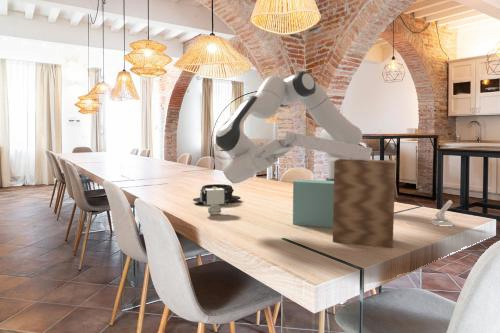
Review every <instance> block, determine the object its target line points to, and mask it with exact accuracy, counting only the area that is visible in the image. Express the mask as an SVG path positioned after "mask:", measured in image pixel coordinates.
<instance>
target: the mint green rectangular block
mask: <svg viewBox="0 0 500 333" xmlns="http://www.w3.org/2000/svg"><path fill="white" fill-rule="evenodd" d="M292 184H293V185H292V186H293V187H292V188H293V189H292V191H293V192H292V224H293V225H299V226H308V227H309V226H310V227H318V228H319V227H320V228H328V229H329V228H331V229H333V205H334V181H326V180H323V179H322V180H321V179H296V180H294V181H293V182H292Z"/></svg>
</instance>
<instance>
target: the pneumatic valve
mask: <svg viewBox="0 0 500 333" xmlns="http://www.w3.org/2000/svg"><path fill="white" fill-rule="evenodd" d="M199 198H200V200H201V202H203V203H202V204H204V205H205V206H209V207H207V208H208V209H207V212H208V214H210V215H211V216H217V215H219V216H220V213H221V212H222V207H221V206H219V205H226V204H227V203H226V201H228V200H229V193H228V191H226V189H224V188H216V187H213V189H203V192H201V191H200V194H199Z"/></svg>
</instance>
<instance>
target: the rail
mask: <svg viewBox="0 0 500 333" xmlns="http://www.w3.org/2000/svg"><path fill="white" fill-rule="evenodd" d="M291 135H295V137H296V140H294V141H292V142H290V143H288V144H289V145H294V147H299V148H304V149H308V150H309V149H310V150H314V151H319V152H323V153H326V152H327V153H332V154H337V155H341V156H346V157H349V158H350V159H351V158H352V159H355V160H365V161H370V160H371V156H372V151H373V148H372V147H367V146H362V145H353V144H348V143H343V142H338V141H333V140H328V139H323V138H320V137H317V136H312V135H306V134H302V133H297V132H292V131H286V134H285V138H287V137H289V136H291ZM285 138H284V139H285Z"/></svg>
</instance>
